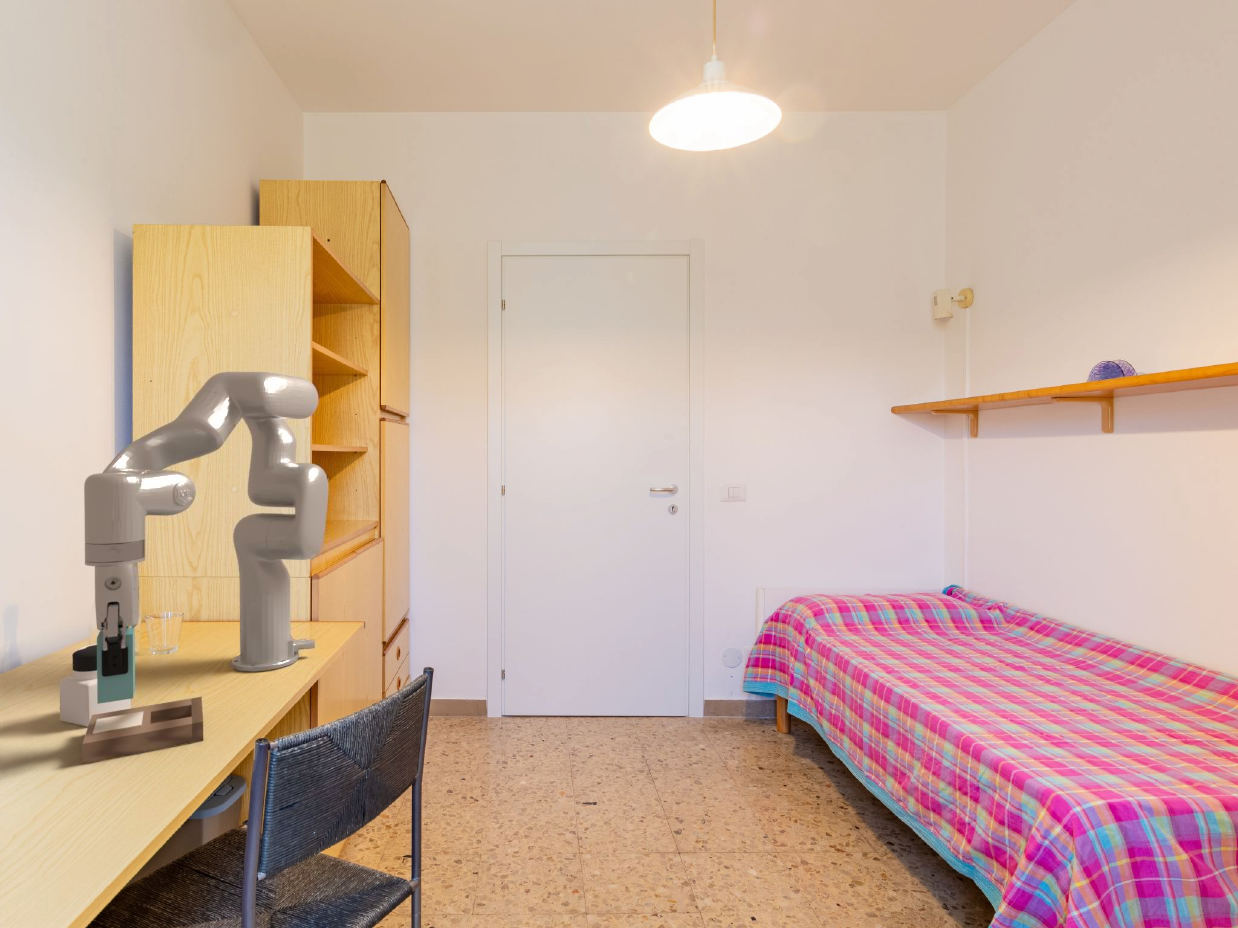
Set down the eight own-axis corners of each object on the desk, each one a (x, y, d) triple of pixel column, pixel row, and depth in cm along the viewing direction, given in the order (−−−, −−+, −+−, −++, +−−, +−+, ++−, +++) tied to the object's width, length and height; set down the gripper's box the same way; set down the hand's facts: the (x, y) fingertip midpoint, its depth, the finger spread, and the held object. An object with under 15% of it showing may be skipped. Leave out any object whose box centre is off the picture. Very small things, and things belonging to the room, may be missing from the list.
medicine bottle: (132, 711, 118) (131, 643, 117) (88, 727, 111) (87, 655, 110) (103, 705, 120) (102, 638, 120) (59, 721, 113) (57, 650, 113)
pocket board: (201, 713, 117) (201, 695, 117) (203, 740, 107) (203, 720, 107) (92, 733, 109) (91, 713, 109) (82, 764, 99) (82, 742, 99)
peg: (135, 689, 108) (134, 627, 108) (133, 698, 105) (132, 633, 104) (100, 694, 106) (99, 631, 106) (97, 703, 102) (96, 638, 102)
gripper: (142, 558, 100) (143, 681, 100) (147, 544, 114) (148, 651, 114) (77, 563, 96) (78, 691, 96) (91, 547, 110) (92, 658, 110)
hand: (116, 668), depth 105 cm, fingers closed on peg, 4 cm apart
